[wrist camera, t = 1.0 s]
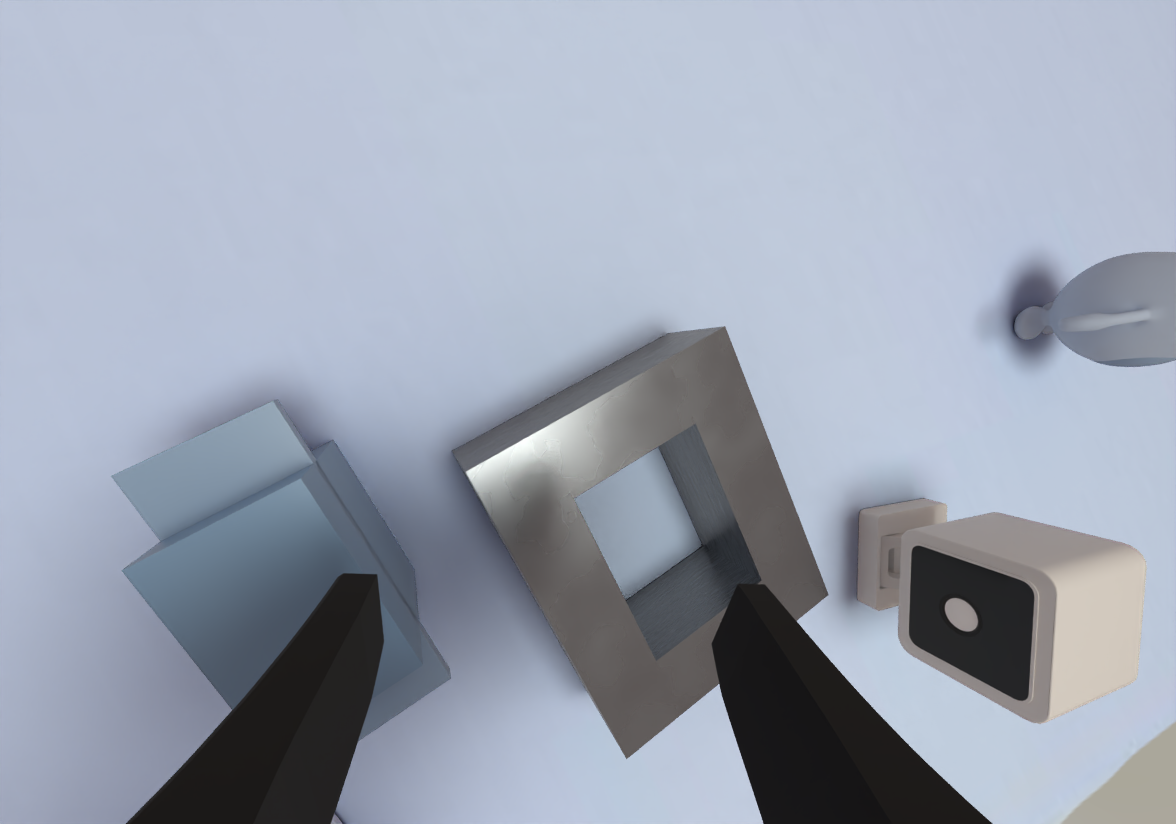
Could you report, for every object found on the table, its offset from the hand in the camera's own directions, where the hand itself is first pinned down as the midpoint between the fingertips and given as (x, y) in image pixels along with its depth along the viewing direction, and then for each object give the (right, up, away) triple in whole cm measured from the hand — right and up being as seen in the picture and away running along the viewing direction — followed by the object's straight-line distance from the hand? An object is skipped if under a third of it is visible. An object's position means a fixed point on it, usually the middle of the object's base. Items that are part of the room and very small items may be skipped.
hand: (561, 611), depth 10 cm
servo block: (-9, -1, +9) cm, 13 cm away
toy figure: (+29, +10, +23) cm, 38 cm away
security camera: (+18, -4, +20) cm, 27 cm away
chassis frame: (+2, -1, +13) cm, 13 cm away
